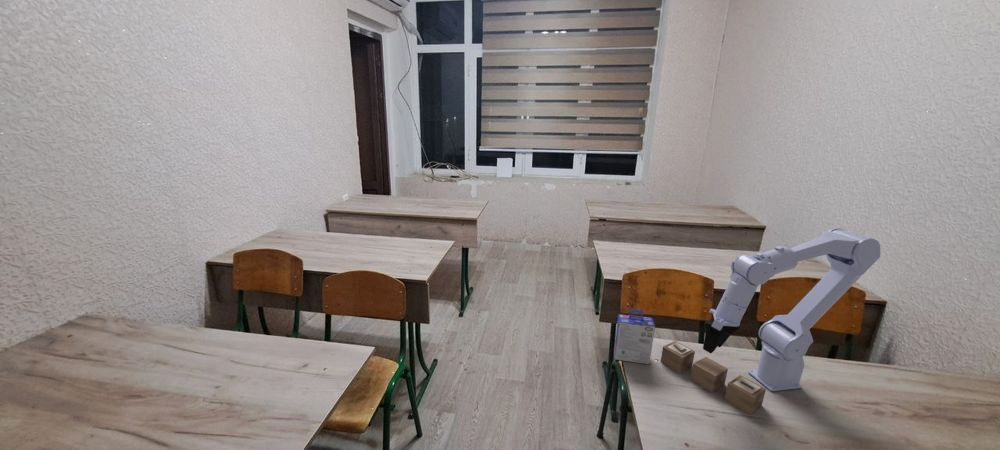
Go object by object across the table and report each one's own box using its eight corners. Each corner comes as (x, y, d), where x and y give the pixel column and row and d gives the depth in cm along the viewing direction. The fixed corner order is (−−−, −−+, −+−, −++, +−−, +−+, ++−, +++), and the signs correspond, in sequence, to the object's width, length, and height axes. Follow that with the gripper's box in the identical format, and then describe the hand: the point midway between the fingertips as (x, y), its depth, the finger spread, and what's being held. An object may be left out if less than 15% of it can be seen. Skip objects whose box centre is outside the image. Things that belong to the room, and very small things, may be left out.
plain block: (702, 372, 106) (705, 356, 105) (724, 384, 101) (728, 368, 100) (690, 379, 103) (693, 363, 101) (712, 392, 98) (715, 376, 97)
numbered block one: (736, 391, 99) (740, 373, 97) (761, 405, 94) (766, 387, 93) (724, 400, 96) (728, 381, 94) (749, 415, 91) (754, 396, 89)
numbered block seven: (672, 355, 113) (675, 339, 112) (692, 366, 108) (695, 350, 107) (660, 361, 110) (663, 345, 109) (679, 373, 105) (682, 356, 104)
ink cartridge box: (647, 353, 113) (654, 310, 109) (650, 365, 108) (657, 319, 104) (613, 349, 115) (618, 305, 111) (614, 360, 110) (620, 315, 106)
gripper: (725, 291, 103) (704, 334, 106) (709, 297, 93) (686, 344, 96) (754, 304, 99) (731, 349, 102) (740, 312, 88) (715, 361, 91)
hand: (711, 347), depth 99 cm, fingers open, 7 cm apart
